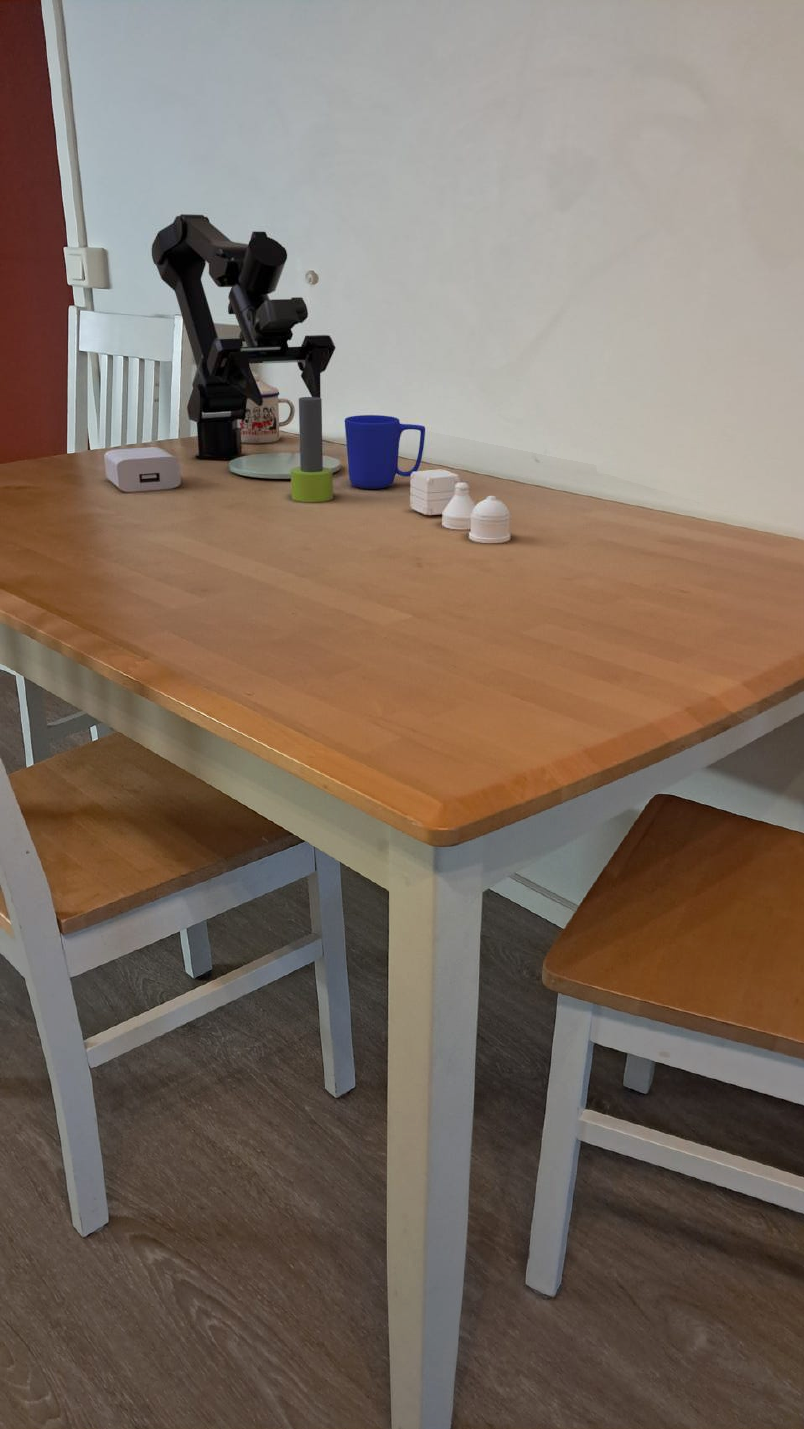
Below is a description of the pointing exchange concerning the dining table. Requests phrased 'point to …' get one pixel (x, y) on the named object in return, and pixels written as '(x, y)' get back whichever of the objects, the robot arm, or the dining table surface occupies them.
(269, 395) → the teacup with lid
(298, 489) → the sponge wand
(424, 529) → the dining table surface
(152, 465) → the charger
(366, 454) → the mug
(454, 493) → the container set
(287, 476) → the plate
